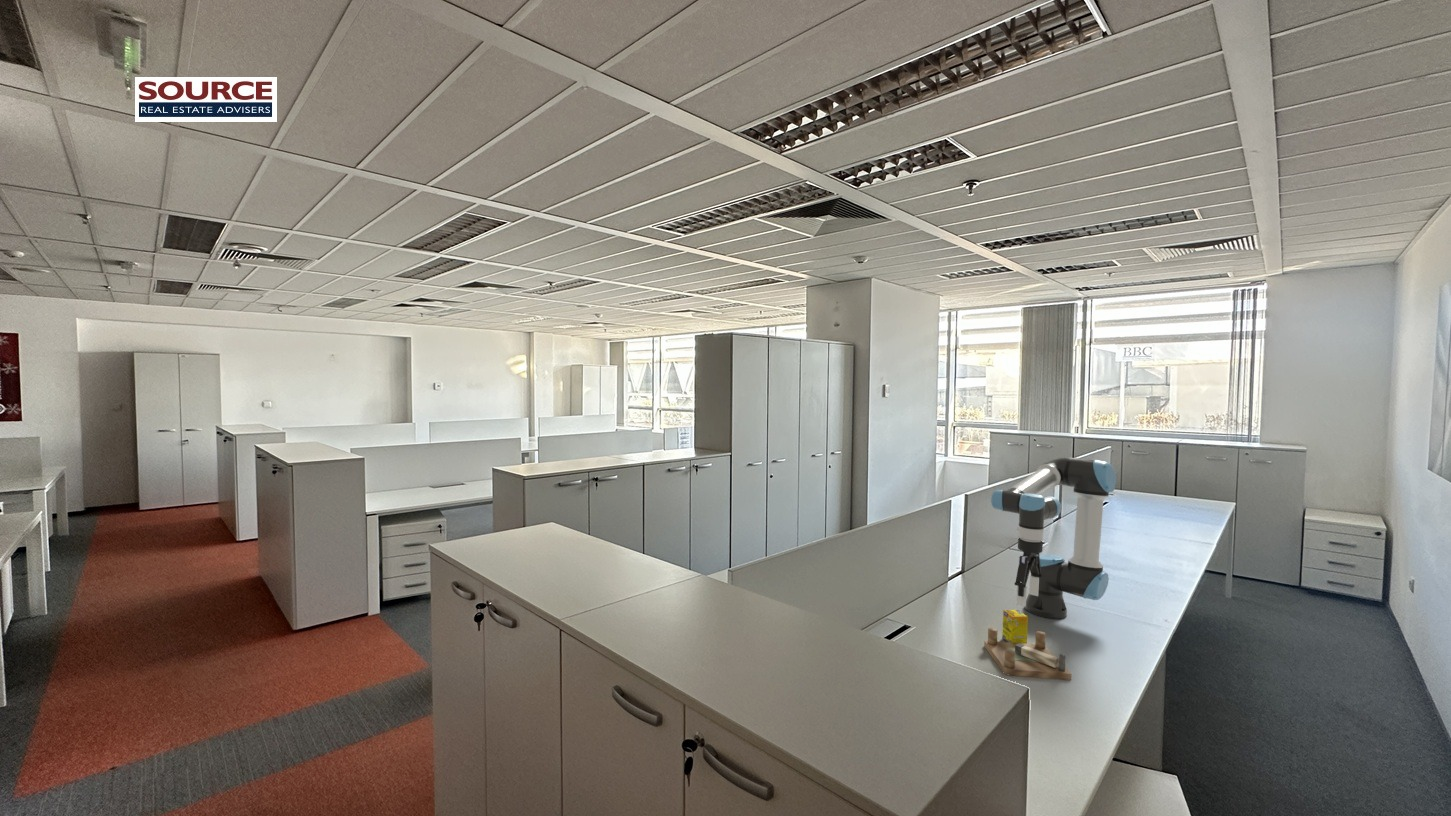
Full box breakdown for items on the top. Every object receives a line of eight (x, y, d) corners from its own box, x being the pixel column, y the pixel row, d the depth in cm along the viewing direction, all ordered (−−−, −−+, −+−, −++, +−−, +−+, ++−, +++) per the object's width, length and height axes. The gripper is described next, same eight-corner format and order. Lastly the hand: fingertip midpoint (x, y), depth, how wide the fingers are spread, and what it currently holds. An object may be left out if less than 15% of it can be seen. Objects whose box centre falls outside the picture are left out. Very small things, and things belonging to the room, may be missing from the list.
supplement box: (1001, 638, 208) (1002, 609, 207) (1017, 638, 208) (1018, 609, 208) (1011, 646, 202) (1012, 616, 201) (1027, 646, 202) (1028, 616, 202)
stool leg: (1058, 665, 183) (1058, 657, 183) (1055, 668, 182) (1055, 660, 182) (1018, 650, 193) (1018, 643, 193) (1014, 652, 192) (1015, 645, 192)
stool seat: (1043, 650, 199) (1044, 630, 199) (1071, 679, 179) (1072, 658, 179) (984, 646, 202) (985, 627, 201) (1004, 674, 182) (1005, 653, 181)
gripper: (1029, 530, 206) (1027, 588, 207) (1006, 543, 188) (1003, 606, 189) (1052, 535, 200) (1050, 593, 201) (1030, 548, 183) (1028, 613, 184)
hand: (1027, 600), depth 195 cm, fingers open, 13 cm apart
